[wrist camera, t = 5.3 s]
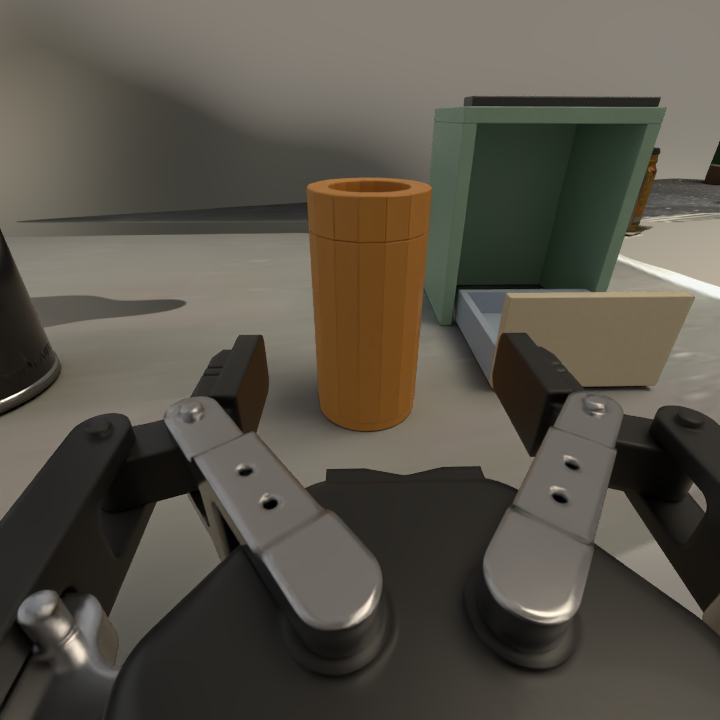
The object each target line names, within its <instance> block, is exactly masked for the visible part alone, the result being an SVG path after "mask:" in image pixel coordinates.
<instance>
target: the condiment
mask: <svg viewBox="0 0 720 720" xmlns="http://www.w3.org/2000/svg"><path fill="white" fill-rule="evenodd" d="M659 154H660V148H655V147H654V148H653V151H652V154H651V157H650V160H649V163H648V166H647V169H646V172H645V176H644V179H643V182H642V185H641V188H640V191H639V194H638V197H637V200H636V203H635V206H634V209H633V212H632V215H631V218H630V221H629V224H628V227H627V230H626V233H625V234H629V235H633V234H637V233H640V232H642V231H644V230H647V229H650V228H652V227H651V226H641V225H639V223H640V220H641V217H642V215H643V211H644V208H645V205H646V202H647V199H648V196H649V193H650V190H651V187H652V184H653V181H654V178H655V175H656V172H657V169H656V163H657V161H658V159H657V158H658V155H659Z"/></svg>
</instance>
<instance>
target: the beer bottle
mask: <svg viewBox="0 0 720 720" xmlns="http://www.w3.org/2000/svg"><path fill="white" fill-rule="evenodd" d="M704 182H705V183H708V184H714V185H720V142H719V145H718V147H717V150H716V152H715V155H714V157H713V160H712V162H711V165H710V167H709V170H708V172H707V175H706V178H705V181H704Z"/></svg>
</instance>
